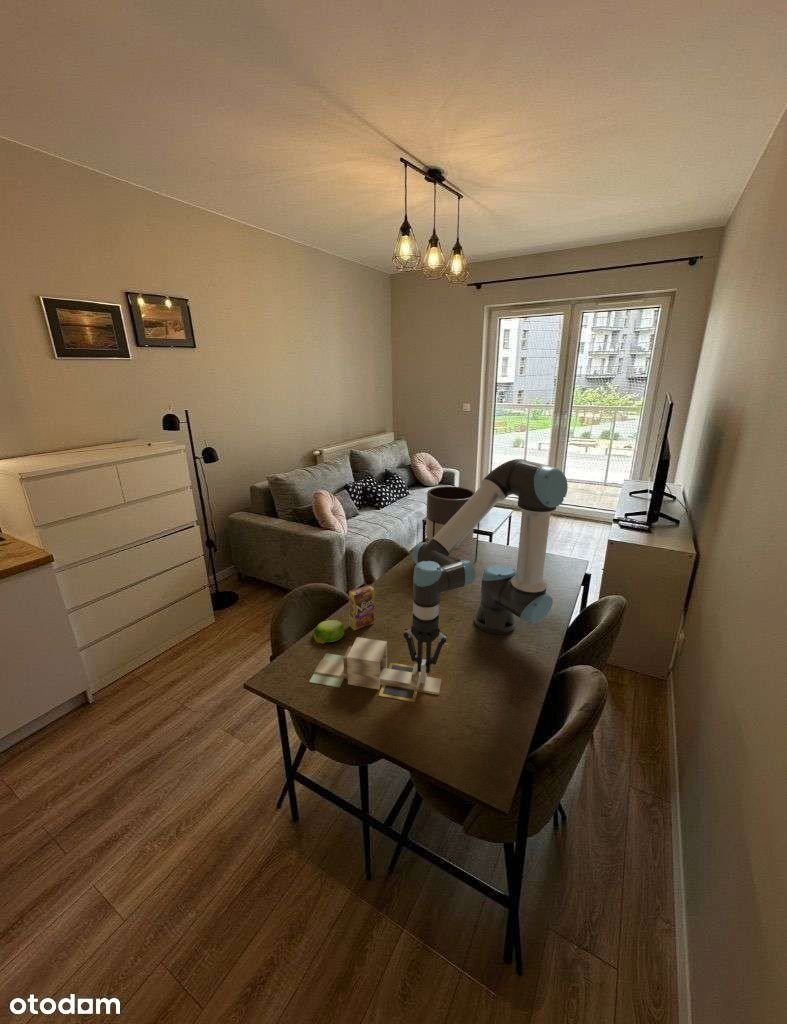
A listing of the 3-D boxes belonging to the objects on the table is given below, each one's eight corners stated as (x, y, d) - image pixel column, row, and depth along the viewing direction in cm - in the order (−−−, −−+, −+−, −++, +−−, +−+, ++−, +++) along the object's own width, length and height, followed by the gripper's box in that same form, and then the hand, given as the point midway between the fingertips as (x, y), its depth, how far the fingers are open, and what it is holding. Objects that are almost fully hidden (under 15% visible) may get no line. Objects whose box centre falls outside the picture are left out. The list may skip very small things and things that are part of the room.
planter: (460, 576, 195) (464, 505, 183) (414, 563, 208) (415, 495, 196) (481, 556, 216) (486, 491, 204) (438, 545, 228) (440, 483, 217)
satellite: (443, 671, 134) (444, 644, 131) (437, 706, 121) (438, 677, 117) (326, 652, 143) (325, 627, 139) (308, 683, 129) (306, 656, 126)
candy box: (354, 631, 154) (353, 595, 149) (349, 625, 158) (347, 590, 153) (375, 623, 159) (374, 588, 154) (369, 618, 162) (368, 583, 157)
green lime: (331, 649, 145) (331, 637, 143) (308, 639, 150) (307, 627, 149) (351, 632, 154) (351, 621, 153) (328, 623, 160) (327, 612, 158)
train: (419, 675, 131) (420, 656, 129) (416, 688, 126) (416, 669, 124) (347, 663, 136) (346, 645, 134) (341, 675, 131) (340, 657, 129)
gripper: (449, 609, 122) (446, 674, 130) (406, 603, 125) (405, 668, 133) (447, 623, 115) (443, 692, 123) (401, 617, 118) (400, 685, 126)
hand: (423, 679), depth 128 cm, fingers closed
